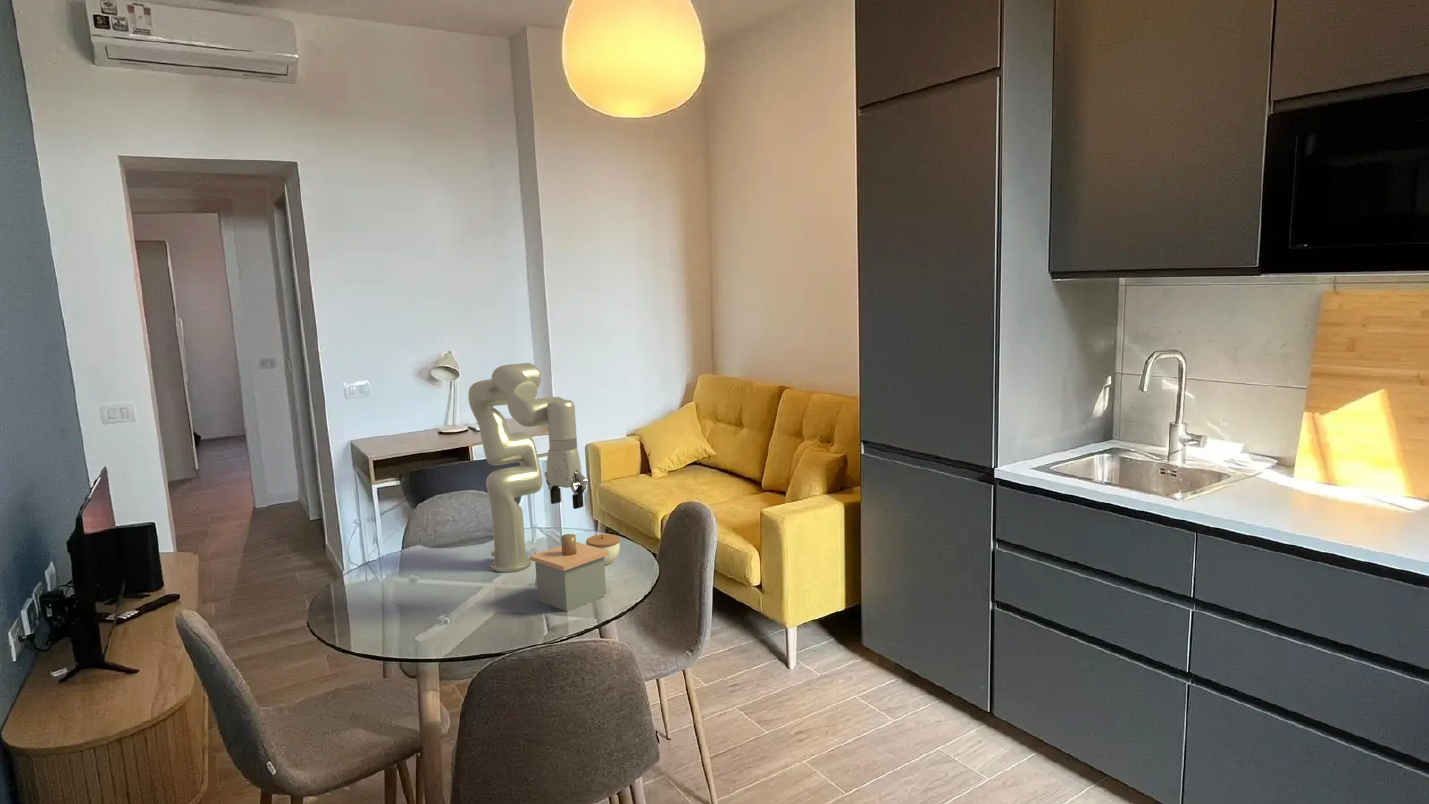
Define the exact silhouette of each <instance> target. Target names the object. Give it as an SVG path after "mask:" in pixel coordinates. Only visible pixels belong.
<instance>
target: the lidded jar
mask: <svg viewBox="0 0 1429 804" xmlns="http://www.w3.org/2000/svg"><path fill="white" fill-rule="evenodd" d="M620 541H621V538H620V536H619V535H616V534H611V533H601V534H596V535H591V536H590V537H588V538H587V539H586V540H585V544H586V545H590V546H593V547H597V548H600V549H604V550H608V551H609V555H607V556H605V557H604V566H609V565H608V564H610V565H612V564H613V563H614V562H615V560H616V559H617V558H618V557H619V553H620V549H621V548H620V546H621V542H620ZM613 561H614V562H613ZM612 562H613V563H612ZM611 563H612V564H611Z"/></svg>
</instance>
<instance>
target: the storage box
mask: <svg viewBox="0 0 1429 804" xmlns="http://www.w3.org/2000/svg"><path fill="white" fill-rule="evenodd" d="M534 562H535V561H534ZM534 564H535V580H536V593H537V601H538V602H540V603H543V604H545V605H548V606H551V607H554V608H555V609H559V610H562V611H563V612H570V611H573V610H575V609H577V608H580V607H581V606H585V605H587V604H589V603H590V604H591V603H592V602H595V601H597V600H599V598H600V597H602V596H603V595H605V594H606V595H607V589H606V588H607V587H606V571H605V569H606V567H605V566H606V565H604V557H602V558H599V559H596V560H593V561H590V562H588V563H585V564H582V565H579V566H576V567H573V568H571V569H568V570H565V571H563V570H560V569H556V568H553V567H550V566H547V565H544V564H541V563H538V562H535V563H534ZM602 598H603V597H602ZM600 599H601V598H600Z"/></svg>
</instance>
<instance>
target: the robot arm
mask: <svg viewBox="0 0 1429 804" xmlns="http://www.w3.org/2000/svg"><path fill="white" fill-rule="evenodd" d="M541 377H542V376H541V372H540V370H539V368H538V367H537V366H536V365H535V364H533V363H529V362H525V363H524V362H523V363H511V364H503V365H500V366H498V367H496V368H495V369H494V370H493V372H492V374H491V378H489V379H483V380H479V381H476V382H475V383H473V384H472V385H470V387H469V389H468V398H467V399H468V404H469V407H470V409H471V412H472V414H473V416H474V418H475V420H476V422H477V425H478V428H479V433H480V438H481V443H482V448H483V453H484V456H485V459H486V461H487V463H488V464H489V465H491V466H502V465H508V464H514V463H519V464H520V465H518V466H511V467H505V468H501V469H497V470H494V471H492V472H491V473H489V474H488V476H487V477H486V480H485V485H486V490H487V494H488V498H489V503H490V509H491V520H492V521H491V523H492V532H493V533H492V534H493V536H492V537H493V549H494V550H493V551H491V552H490V555H491V556H492V557H493V558H494V559H493V561H492V562H491V563H490V569H491V570H492V569H493V570H492V571H494V570H496V571H495V572H497V571H499V573H510V572H512V573H513V572H517V571H518V572H519V571H521V570H522V571H523V570H524V569H527V568H528V567H530V566H531V564H532V561H531V560H530V557H528V556H527V555H526V541H525V527H524V526H525V525H524V513H523V508H522V507H521V506H520V505H519V504H518V502H517V501H516V500H515V498H518V497H523V496H528V495H532V494H536V493H538V492H540V491H541V489H542V487H543V476H542V470H541V464H540V461H539V456H538V452H537V447H536V443H535V440H534V439H533V437H532V436H531V434H530V433H528V432H526V431H518V432H509V428H508V425H507V420H506V418H505V416H504V415H503V414H502V413H501V412H500V411H499V410H498V409H496V408H495V407H496V406H498V407H499V406H505V405H507V410H508V412H509V415H510V416H511V418H512V419H513V420H514V421H515V422H517V423H518V424H519V425H521V426H522V427H527V428H531V427H538V426H539V427H540V426H545V425H547V428H548V429H547V431H548V432H547V433H548V443H549V444H548V446H549V447H548V448H549V449H548V450H547V451H548V452H547V457H546V459H547V460H546V471H545V472H544V477H545V480H546V481H545V482H546V484H547V485H548V489H549V493H550V494H549V495H550V504H551V505H555V504H558V503H561V502H562V493H561V492H562V491H561V490H562V489H561V488H564V489H565V488H566V489H568V488H570V489H571V492H572V493H573V494H572V496H571V499H572V508H573V509H574V510H576V509H580V508H583V507H584V493H585V489H586V487H587V483H588V479H587V478H586V477H585V476H584V475H583V473H582V467H581V459H580V454H579V450H578V441H577V440H578V438H577V425H576V424H577V423H576V422H577V421H576V408H575V407H576V406H575V403H574V401H572V400H571V399H564V398H562V397H560V396H549V397H540V398H536V397H537V395H538V388H539V387H540V384H541V381H542V378H541ZM560 487H561V488H560Z"/></svg>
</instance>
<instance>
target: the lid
mask: <svg viewBox="0 0 1429 804" xmlns="http://www.w3.org/2000/svg"><path fill="white" fill-rule="evenodd" d="M576 540H577V537H576V534H575V533H568V534H567V533H566V534H563V535H561V536H560V541H561V545H559V546H555V547H553V548H549V549H546V550H544V551H541V552H538V553H535V554H531V555H529V558H530V560H531V562H538V563H541V564H544V565H547V566H550V567H553V568H556V569H560V570H563V571H565V570H568V569H571V568H573V567H576V566H579V565H582V564H585V563H588V562H590V561H593V560H596V559H599V558H602V557H605V556H607V555H609V551H608V550H604V549H600V548H597V547H593V546H590V545H587V544H586V543H582V542H578V541H576Z"/></svg>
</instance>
